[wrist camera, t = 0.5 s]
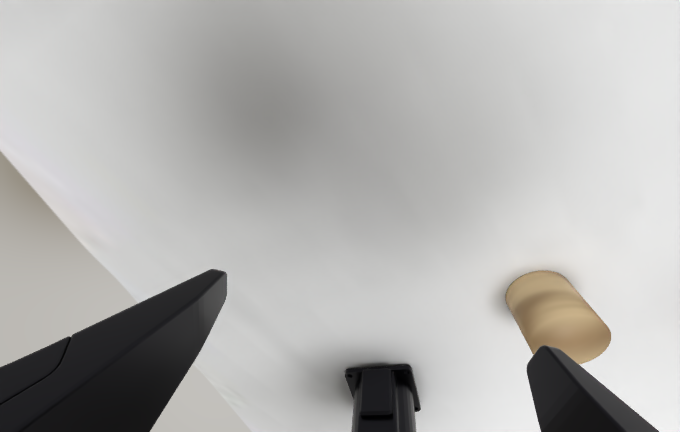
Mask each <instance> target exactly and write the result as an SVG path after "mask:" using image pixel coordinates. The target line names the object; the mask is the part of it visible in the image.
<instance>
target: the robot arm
mask: <svg viewBox="0 0 680 432" xmlns="http://www.w3.org/2000/svg"><path fill="white" fill-rule="evenodd" d="M226 296H227V274H226V272H224V271H220V270H216V269H211V270H208V271H206V272H204V273H202V274H200V275H198V276H196V277H193V278H191V279H189V280H187V281H185V282H183V283H181V284H179V285H177V286H174V287H172V288H170V289H168V290H166V291H164V292H162V293H160V294H157V295H155V296H153V297H151V298H149V299H147V300H145V301H143V302H141V303H138V304H136V305H134V306H132V307H130V308H128V309H126V310H124V311H121V312H120V313H117V314H115V315H113V316H111V317H109V318H107V319H105V320H102V321H100V322H98V323H96V324H94V325H92V326H90V327H88V328H86V329H83V330H81V331H79V332H77V333H75V334H73V335H72V337H66V338H64V339H62V340H60V341H58V342H56V343H54V344H51V345H49V346H47V347H45V348H43V349H40V350H38V351H36V352H34V353H32V354H29V355H27V356H25V357H23V358H21V359H18V360H16V361H14V362H12V363H10V364H7V365H5V366H2V367H0V432H150V430H151V429H152V427H153V425H154V424H155V422H156V421H157V419H158V417H159V416H160V414H161V413H162V411H163V409H164V408H165V406H166V405H167V403H168V402H169V400H170V398H171V397H172V395H173V394H174V392H175V390H176V389H177V387H178V386H179V384H180V383H181V381H182V380H183V378H184V376H185V375H186V373H187V372H188V370H189V368H190V367H191V365H192V364H193V362H194V361H195V359H196V357H197V356H198V354H199V352H200V351H201V349H202V347H203V345H204V343H205V341H206V339H207V337H208V335H209V333H210V331H211V329H212V327H213V325H214V323H215V321H216V318H217V316H218V314H219V312H220V310H221V308H222V306H223V304H224V302H225V300H226ZM527 375H528V379H529V384H530V388H531V392H532V396H533V400H534V405H535V409H536V413H537V417H538V422H539V425H540V429H541V432H659V431H658V430H657V429H655V428H654V427H653V426H652V425H651V424H649V423H648V422H647V421H646V420H645V419H643V418H642V417H641V416H640V415H639V414H637V413H636V412H635V411H634V410H633V409H631V408H630V407H629V406H628V405H627V404H625V403H624V402H623V401H622V400H621V399H619V398H618V397H617V396H616V395H615V394H613V393H612V392H611V391H610V390H609V389H607V388H606V387H605V386H604V385H603V384H601V383H600V382H599V381H598V380H597V379H595V378H594V377H593V376H592V375H591V374H589V373H588V372H587V371H586V370H585V369H583V368H582V367H581V366H580V365H579V364H577V363H576V362H575V361H574V360H573V359H571V358H570V357H569V356H568V355H567V354H565V353H564V352H563V351H562V350H560V349H559V348H556V347H551V346H547V345H542V346H540V347H539V348H538V350H537V351H536V353H535V354H534V355H533V357H532V358H531V360H530V361H529V363H528V365H527ZM345 377H346V380H347V382H348V385H349V388H350V390H351V393H352V396H353V398H354V407H353V420H352V432H416V423H415V413H414V412H417V411H420V410H421V407H420V402H419V397H418V393H417V388H416V384H415V380H414V375H413V371H412V368H411V367H410V366H408V365H403V366H387V367H371V368H356V369H347V370H346V372H345Z"/></svg>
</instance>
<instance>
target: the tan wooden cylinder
mask: <svg viewBox="0 0 680 432" xmlns="http://www.w3.org/2000/svg"><path fill="white" fill-rule="evenodd" d="M506 303H507V305H508V307H509V309H510V311H511V313H512V315H513V317H514V318H515V320H516V322H517V324H518V326H519V328H520V330H521V332H522V334H523V336H524V338H525V340H526V341H527V343H528V345H529V347H530V349H531V351H532V353H533V354H535V353H536V351H537V350H538V348H539V347H540V346H542V345H547V346H551V347H556V348H559V349H560V350H562V351H563V352H564V353H565V354H567V355H568V356H569V357H570V358H571V359H573V360H574V361H575V362H576V363H577V364H582V363H585V362H588V361H590V360H592V359H594V358H596V357H598V356H599V355H600V354H602V353H603V352H604V351H605V350H606V349H607V347H608V346H609V344H610V341H611V332H610V330H609V328H608V327H607V325H606V324H605V323H604V322H603V321H602V320H601V318H600V317H599V316H598V315H597V314H596V313H595V311H594V310H593V309H592V308H591V307H590V306H589V304H588V303H587V302H586V301H585V300H584V299H583V297H582V296H581V295H580V294H579V293H578V292H577V290H576V289H575V288H574V287H573V286H572V285H571V283H570V282H569V281H568V280H567V279H566V278H565V277H564V276H562V275H561V274H559V273H556V272H552V271H535V272H531V273H528V274H525V275H523V276H521V277H519V278H518V279H516V280H515V281H514V282H513V283H512V284H511V285H510V286H509V288H508V290H507V292H506Z"/></svg>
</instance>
